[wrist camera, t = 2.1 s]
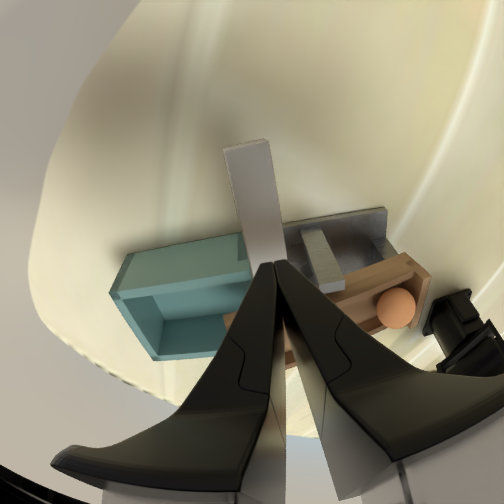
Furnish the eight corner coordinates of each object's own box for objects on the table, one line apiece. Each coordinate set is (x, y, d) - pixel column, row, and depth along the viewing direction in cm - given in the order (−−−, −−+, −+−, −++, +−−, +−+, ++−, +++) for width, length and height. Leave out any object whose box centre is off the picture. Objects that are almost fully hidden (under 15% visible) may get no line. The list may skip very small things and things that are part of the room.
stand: (377, 286, 27) (405, 341, 21) (271, 307, 27) (280, 369, 21) (384, 207, 22) (428, 256, 16) (256, 228, 23) (262, 289, 17)
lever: (395, 303, 23) (416, 327, 20) (240, 362, 21) (250, 396, 18) (411, 117, 14) (450, 128, 11) (171, 161, 12) (171, 181, 10)
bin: (264, 308, 27) (269, 349, 23) (162, 322, 28) (153, 361, 24) (247, 231, 23) (249, 270, 19) (127, 254, 23) (108, 292, 19)
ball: (391, 302, 21) (418, 321, 19) (366, 320, 20) (393, 343, 18) (396, 273, 19) (427, 293, 17) (370, 292, 19) (401, 315, 16)
